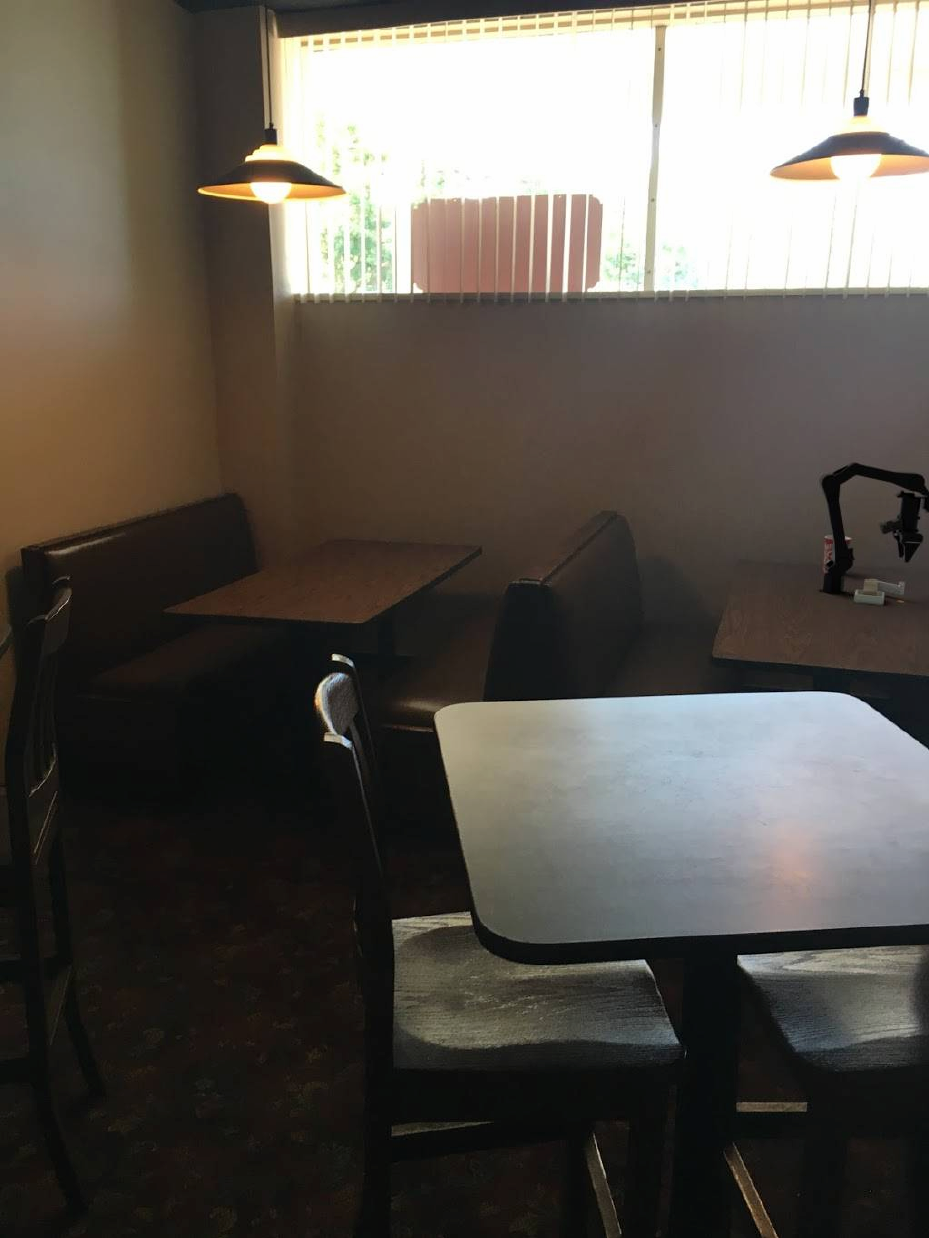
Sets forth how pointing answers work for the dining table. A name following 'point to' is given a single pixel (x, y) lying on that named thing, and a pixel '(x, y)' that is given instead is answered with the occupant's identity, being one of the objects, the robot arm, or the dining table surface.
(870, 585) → the stop block
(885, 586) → the crank
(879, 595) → the stop tray
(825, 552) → the mug
